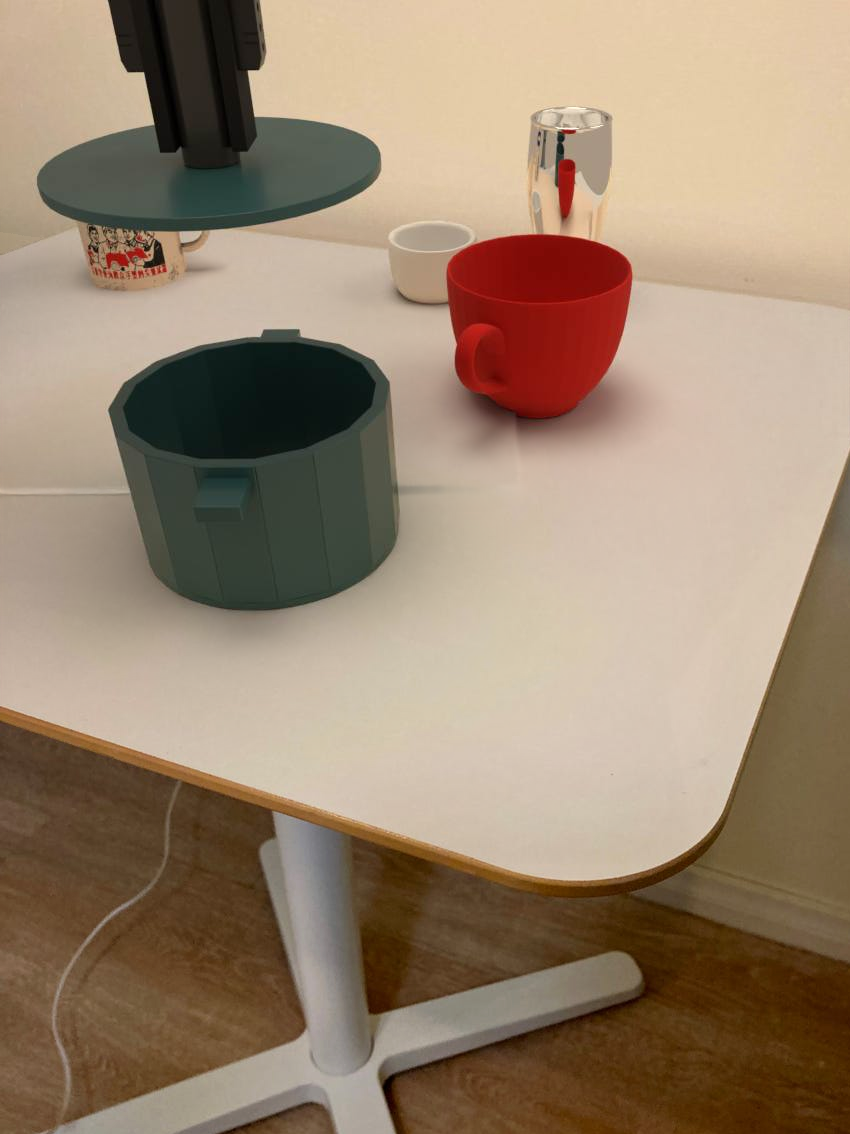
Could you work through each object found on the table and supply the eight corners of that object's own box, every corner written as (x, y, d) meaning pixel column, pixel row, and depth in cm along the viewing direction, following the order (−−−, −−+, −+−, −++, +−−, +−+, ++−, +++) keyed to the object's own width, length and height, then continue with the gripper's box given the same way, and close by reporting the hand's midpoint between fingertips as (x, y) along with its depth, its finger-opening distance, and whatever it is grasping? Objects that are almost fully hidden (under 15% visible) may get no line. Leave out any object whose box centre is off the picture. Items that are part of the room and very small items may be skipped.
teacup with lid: (80, 299, 94) (44, 163, 86) (100, 262, 101) (68, 133, 93) (214, 294, 94) (190, 158, 87) (225, 257, 101) (203, 128, 94)
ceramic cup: (386, 436, 74) (375, 301, 68) (504, 346, 85) (504, 222, 79) (546, 484, 69) (551, 343, 63) (650, 382, 80) (663, 252, 74)
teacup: (491, 305, 92) (490, 243, 88) (409, 320, 89) (406, 258, 86) (448, 266, 99) (446, 208, 95) (372, 280, 96) (367, 220, 93)
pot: (104, 641, 58) (56, 495, 51) (188, 448, 73) (160, 319, 67) (384, 640, 57) (370, 494, 51) (408, 446, 73) (400, 317, 67)
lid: (-9, 247, 46) (-94, -21, 40) (99, 141, 59) (48, -75, 52) (366, 243, 46) (344, -27, 39) (393, 137, 59) (380, -81, 52)
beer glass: (613, 292, 94) (627, 110, 84) (586, 321, 89) (597, 132, 79) (542, 280, 96) (547, 102, 86) (512, 308, 91) (513, 123, 81)
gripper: (-196, -603, 33) (24, 169, 49) (297, -615, 33) (362, 165, 48) (-95, -550, 39) (73, 126, 54) (326, -561, 39) (376, 121, 54)
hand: (209, 143), depth 51 cm, fingers closed on lid, 3 cm apart
